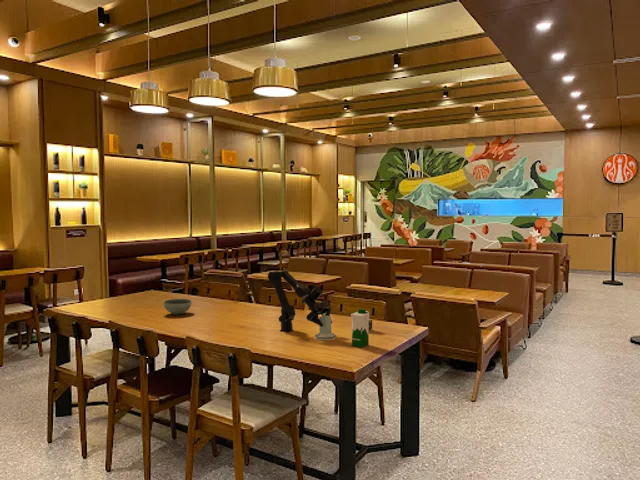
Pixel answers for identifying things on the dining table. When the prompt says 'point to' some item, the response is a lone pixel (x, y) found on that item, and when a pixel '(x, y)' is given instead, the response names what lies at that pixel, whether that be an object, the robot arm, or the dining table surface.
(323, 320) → the gray block
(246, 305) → the dining table surface
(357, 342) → the milk carton
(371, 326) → the medicine bottle
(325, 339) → the coaster
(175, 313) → the bowl
